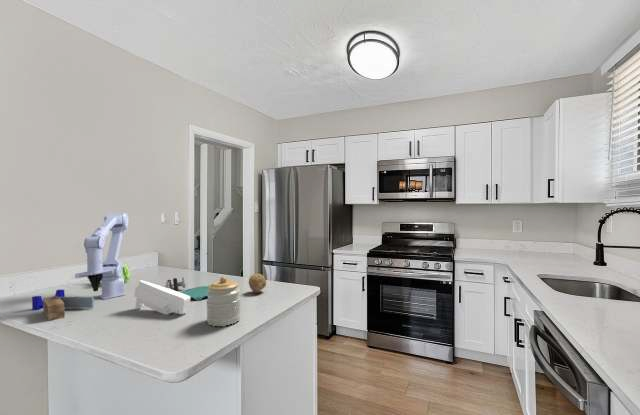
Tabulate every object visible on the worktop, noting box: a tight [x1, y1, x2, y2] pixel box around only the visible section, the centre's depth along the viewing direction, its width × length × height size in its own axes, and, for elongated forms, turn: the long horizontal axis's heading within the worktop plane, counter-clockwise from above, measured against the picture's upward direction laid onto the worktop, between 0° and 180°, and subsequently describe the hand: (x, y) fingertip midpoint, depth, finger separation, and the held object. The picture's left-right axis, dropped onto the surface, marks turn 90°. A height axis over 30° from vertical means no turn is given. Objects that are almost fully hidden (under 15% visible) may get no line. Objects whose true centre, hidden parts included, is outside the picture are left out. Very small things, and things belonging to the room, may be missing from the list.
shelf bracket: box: [134, 280, 192, 315], centre depth 131 cm, size 6×27×14 cm, turn 71°
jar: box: [205, 276, 242, 327], centre depth 119 cm, size 13×13×18 cm
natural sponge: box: [248, 273, 267, 294], centre depth 157 cm, size 9×9×10 cm
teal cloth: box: [179, 285, 210, 301], centre depth 160 cm, size 20×30×2 cm, turn 152°
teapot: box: [120, 263, 131, 284], centre depth 180 cm, size 16×14×13 cm
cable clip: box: [31, 288, 66, 311], centre depth 142 cm, size 12×4×6 cm, turn 170°
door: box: [59, 296, 95, 309], centre depth 137 cm, size 2×16×5 cm, turn 88°
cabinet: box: [42, 295, 66, 322], centre depth 129 cm, size 5×16×6 cm, turn 48°
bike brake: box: [161, 276, 187, 292], centre depth 164 cm, size 14×7×20 cm
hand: (95, 290), depth 141 cm, fingers closed
